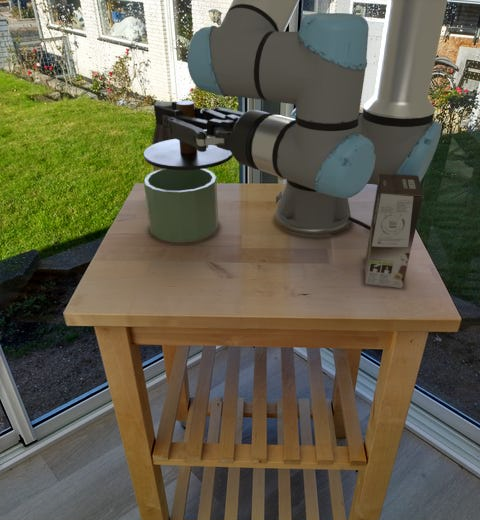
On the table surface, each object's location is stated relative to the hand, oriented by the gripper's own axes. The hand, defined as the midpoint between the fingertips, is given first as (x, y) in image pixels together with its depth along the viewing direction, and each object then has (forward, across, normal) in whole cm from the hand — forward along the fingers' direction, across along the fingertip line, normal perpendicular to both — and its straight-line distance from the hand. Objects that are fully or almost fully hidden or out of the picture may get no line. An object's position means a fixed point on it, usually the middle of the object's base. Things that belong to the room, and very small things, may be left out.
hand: (165, 112), depth 82 cm
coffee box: (-34, +18, -24) cm, 46 cm away
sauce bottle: (+21, +14, -24) cm, 35 cm away
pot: (+4, +4, -24) cm, 25 cm away
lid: (-5, 0, -6) cm, 8 cm away
